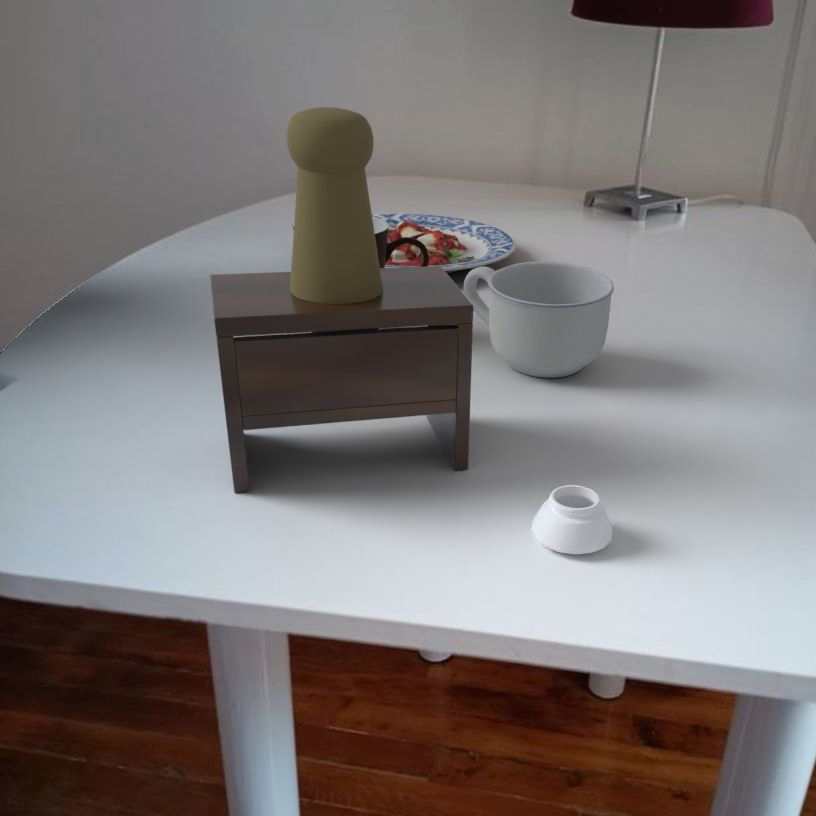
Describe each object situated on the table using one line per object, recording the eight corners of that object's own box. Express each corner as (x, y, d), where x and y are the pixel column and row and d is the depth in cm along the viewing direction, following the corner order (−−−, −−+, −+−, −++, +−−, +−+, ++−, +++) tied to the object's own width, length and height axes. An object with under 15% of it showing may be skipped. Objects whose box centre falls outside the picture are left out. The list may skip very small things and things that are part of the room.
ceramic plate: (260, 247, 111) (258, 222, 110) (428, 221, 127) (428, 199, 125) (383, 303, 95) (382, 275, 94) (558, 265, 110) (560, 240, 109)
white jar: (536, 512, 60) (526, 553, 56) (539, 473, 58) (529, 512, 54) (612, 521, 59) (608, 564, 55) (617, 482, 58) (613, 522, 54)
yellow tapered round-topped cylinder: (401, 287, 61) (399, 110, 56) (343, 310, 56) (336, 119, 51) (330, 270, 64) (322, 99, 58) (270, 291, 59) (255, 107, 54)
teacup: (628, 367, 83) (638, 280, 79) (553, 400, 76) (560, 306, 72) (512, 327, 91) (517, 246, 87) (434, 354, 84) (435, 267, 79)
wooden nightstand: (228, 434, 68) (210, 274, 62) (438, 416, 72) (440, 265, 66) (234, 493, 60) (214, 318, 54) (468, 469, 65) (473, 305, 59)
